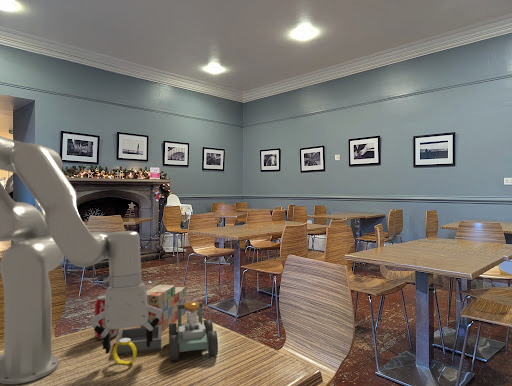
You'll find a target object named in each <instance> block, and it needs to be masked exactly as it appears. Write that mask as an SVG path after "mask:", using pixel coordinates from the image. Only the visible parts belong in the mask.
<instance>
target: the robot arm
mask: <svg viewBox="0 0 512 386" xmlns="http://www.w3.org/2000/svg"><path fill="white" fill-rule="evenodd" d="M62 169H63V160H62V158H61V156H60V154H59V153H58V152H56V151H55V150H54V149H52V148H50V147H46V146H44V145H41V144H39V143H35V142H34V143H33V142H30V143H29V142H28V143H27V142H24V141H18V140H14V139H11V138H8V137H5V136H1V135H0V170H1V171H5V172H11V173H13V174H16V175H17V176H18V178H19V179H20V180H21V181H22V183H23V184H24V186H25V188H26V189H27V190H28V191H29V193H30V194H31V196H32V197H33V198H34V200H35V202H36V203H37V204H38V206H39V207H40V209H41V211H42V213H41V211H40V210H39V209H37V208H36V207H35V206H34V205H32V204H30V203H28V202H22V201H21V202H19V201H15V200H14V199H13V198H12V197H11V196H10V194H9V193H8V192H7V190H6V189H5V187H4V186H3V184H2V183H1V182H0V243H1V242H10V241H13V243H14V244H12V245H11V246H10V247H8V248H7V249H6V250H5V252H4V253H3V255H2V256H1V259H0V276H1V280H2V286H3V299H4V300H3V301H4V302H3V303H4V305H3V306H4V308H3V309H4V310H3V311H4V312H3V313H4V314H3V315H4V318H3V319H4V326H3V327H4V333H3V334H4V335H3V336H4V338H3V339H4V344H3V345H4V346H3V348H4V349H3V350H4V351H3V354H1V355H0V384H2V385H20V384H26V383H28V382H33V381H36V380H39V379H41V378H44V377H46V376H48V375H49V374H51V373H53V372H54V371H55V370H56V369H57V368H58V366H59V363H60V361H59V358H58V357H56V356H54V355H52V320H53V319H52V317H53V315H52V312H53V311H52V309H53V308H52V304H53V303H52V288H51V287H52V286H51V282H50V277H49V272H51V271H53V270H55V269H56V268H58V266H59V265H61V264H62V263H63V260H64V257H65V258H66V259H67V260H68V261H69V263H71V264H72V265H74V266H76V267H79V268H88V267H92V266H94V265H95V264H97V263H99V262H101V261H104V260H107V259H108V265H109V266H108V268H109V270H108V271H109V276H107V277H103V281H102V282H103V284H108V285H109V286H108V287H107V288H106V291H105V294H106V297H105V311H103V312H101V313H100V314H98V315H97V316H95V315H94V316H93V317H92V318H91V319H90V320H89V324H90V325H91V327H92V328H93V329H94V332H95V331H96V332H97V333H98V334H100V335H101V337H102V338H103V339H102V349H103V350H105V354H106V355H107V354H109V353H110V351H111V349H112V348H111V338H110V334H109V331H110V330H116V329H119V330H121V329H131V328H139V327H140V326H143V325H144V326H145V327H146V328H147V330H146V338H147V347H150V342H153V333H152V330H153V328H154V327H155V326H156V325H157V324H158V322H159V320H160V318H161V316H162V314H163V310H161V309H159V308H156V307H153V306H151V305H148V301H147V293H146V292H147V290H146V285H145V282H142V279H143V278H142V261H141V259H142V258H141V256H142V255H141V238H140V234H139V232H137V231H134V230H126V231H125V230H124V231H116V232H108V231H107V232H106V231H105V232H104V231H103V232H102V231H93V232H92V231H90V230H89V228H88V227H87V226H86V224H85V222H84V221H83V220H82V218H81V214H79V211H78V208H77V199H78V196H77V195H78V194H77V191H76V189H75V188H74V186H73V185H72V184H71V182H70V181H69V179H68V178H67V177H66V175H65V174H64V172H63V171H62ZM148 311H149V312H152V313H154V314H156V317H155V318H154V319H153V320H152V322H151V321H150V320H149V319H148ZM104 317H105V328H103V327H102V326H101V325H99V323H98V321H99V320H101V319H102V318H104Z"/></svg>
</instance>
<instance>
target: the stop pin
mask: <svg viewBox="0 0 512 386" xmlns="http://www.w3.org/2000/svg"><path fill="white" fill-rule="evenodd" d="M198 308H199V301H197V300H196V301H195V300H194V301H193V300H192V301H186V303H185V304H184V309H185V310H186V324H187V331H190V330H197V323H198V321H197V320H198V319H197V318H198V315H197V314H198V312H197V310H198Z"/></svg>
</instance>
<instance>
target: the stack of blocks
mask: <svg viewBox="0 0 512 386" xmlns="http://www.w3.org/2000/svg"><path fill="white" fill-rule="evenodd" d="M146 293H147V301H148V305H151V306H153V307H156V308H159V309H161V310H163V314H162V316H161V318H160V320H159V322H158V324H157V325H156V326H160V325H161V334H162V333H163V332H165V331H166V330H167V329H169V324H171V323H176V322H177V321H178V304H184V303H186V302H187V293H186V287H184V286H176V285H174V284H157V285H156V286H154V287H152V288H151V289H148V290H146ZM185 313H186V314H187V310H185V309H181V317H183V315H185ZM155 317H156V314H154V313H152V312H149V311H148V319H149V320H150V321H151V322H152V320H153V319H154V318H155ZM141 327H145V326H144V325H143V326H139V328H141Z"/></svg>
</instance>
